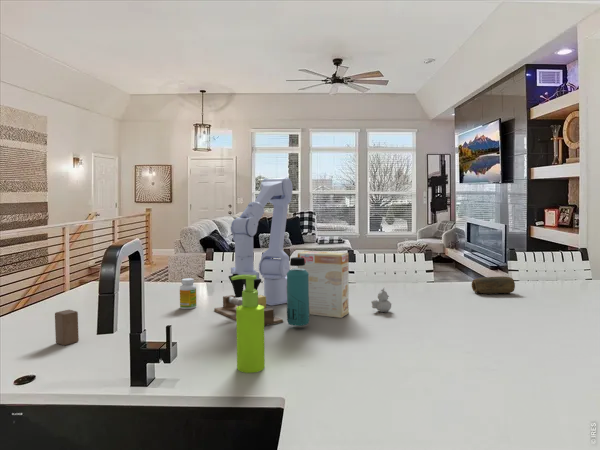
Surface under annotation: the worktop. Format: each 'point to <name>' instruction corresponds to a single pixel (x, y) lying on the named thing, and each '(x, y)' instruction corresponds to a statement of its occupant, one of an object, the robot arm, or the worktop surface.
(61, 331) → the wooden block
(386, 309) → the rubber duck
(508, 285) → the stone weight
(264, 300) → the yellow notched block
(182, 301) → the supplement bottle
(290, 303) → the beverage bottle
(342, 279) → the coffeecake box
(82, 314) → the worktop surface
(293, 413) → the worktop surface
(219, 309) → the rail
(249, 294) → the soap dispenser
